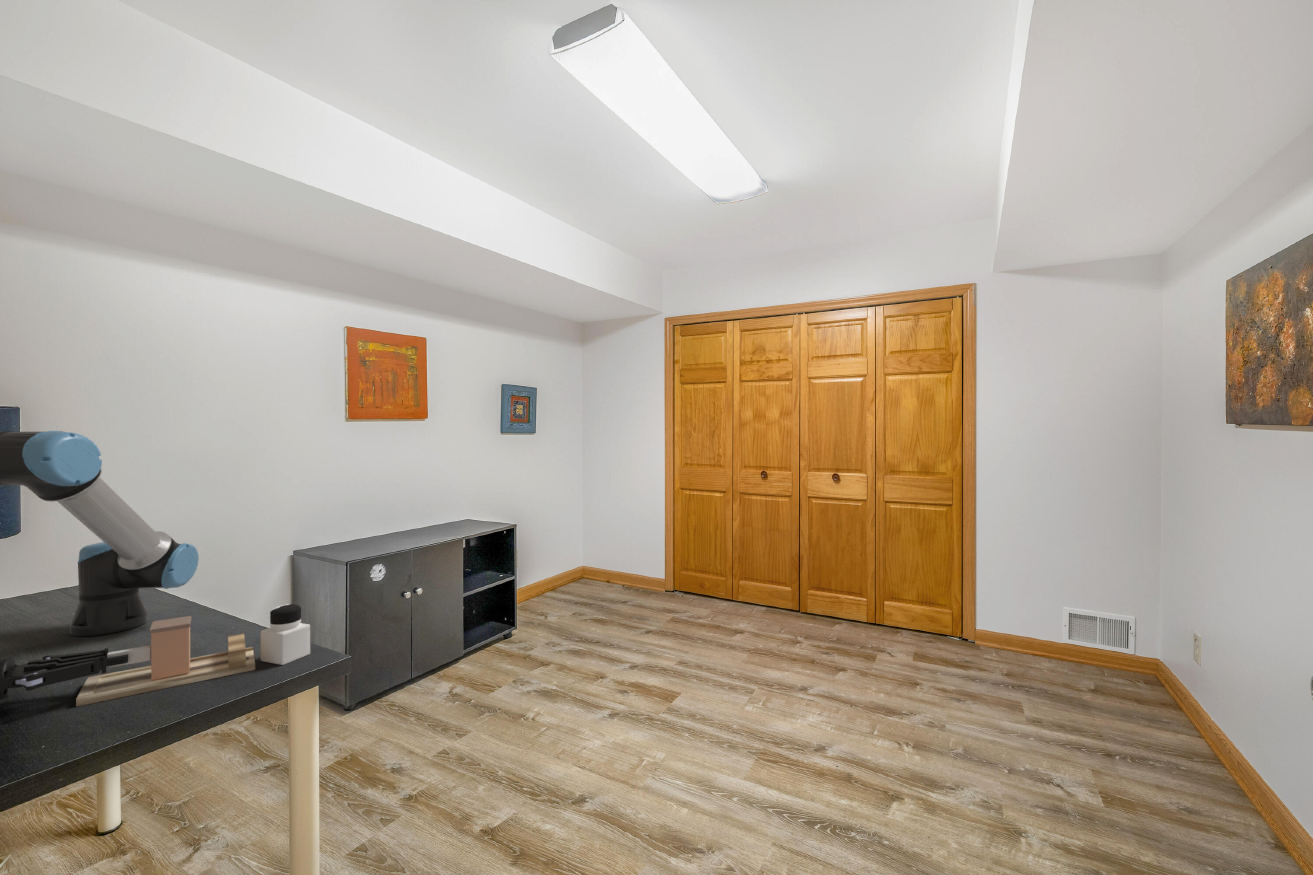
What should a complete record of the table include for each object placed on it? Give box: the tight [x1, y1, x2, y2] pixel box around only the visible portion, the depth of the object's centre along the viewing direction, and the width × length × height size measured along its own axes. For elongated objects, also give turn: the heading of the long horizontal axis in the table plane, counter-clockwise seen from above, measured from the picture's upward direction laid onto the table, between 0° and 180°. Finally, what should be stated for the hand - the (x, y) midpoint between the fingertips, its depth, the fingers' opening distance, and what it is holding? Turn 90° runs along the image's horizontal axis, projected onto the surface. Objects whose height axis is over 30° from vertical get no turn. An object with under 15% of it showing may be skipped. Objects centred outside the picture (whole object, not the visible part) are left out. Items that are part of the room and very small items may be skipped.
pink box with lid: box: [149, 615, 192, 680], centre depth 121 cm, size 6×6×11 cm
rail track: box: [75, 633, 256, 707], centre depth 122 cm, size 12×28×5 cm, turn 127°
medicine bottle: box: [260, 603, 311, 666], centre depth 132 cm, size 7×7×12 cm
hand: (150, 652), depth 119 cm, fingers closed
